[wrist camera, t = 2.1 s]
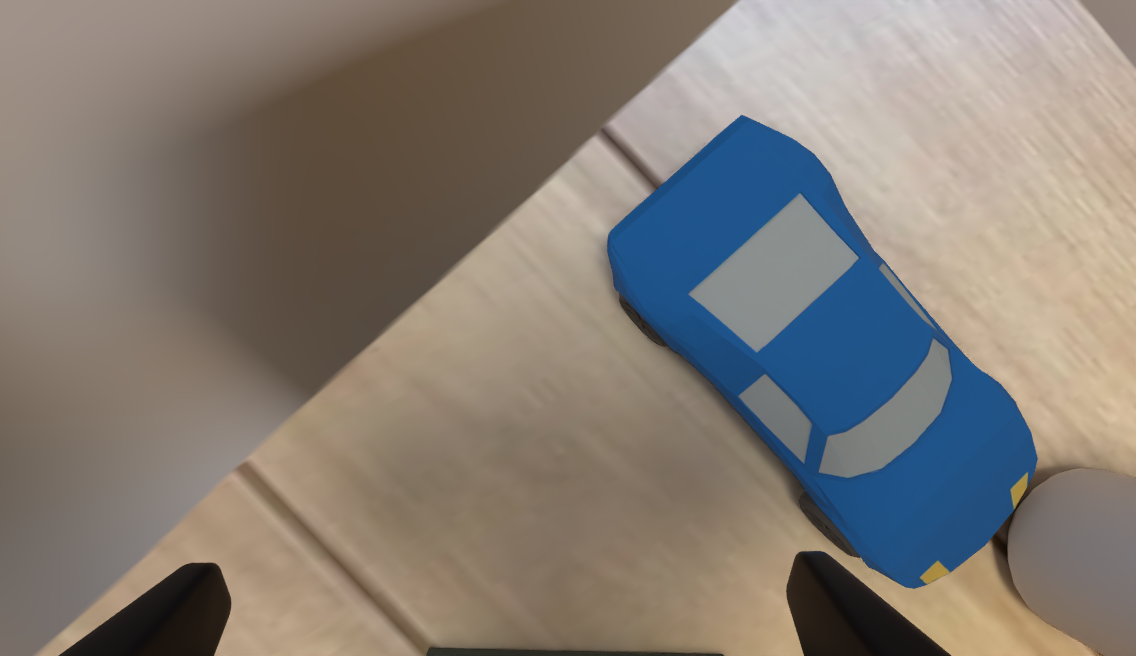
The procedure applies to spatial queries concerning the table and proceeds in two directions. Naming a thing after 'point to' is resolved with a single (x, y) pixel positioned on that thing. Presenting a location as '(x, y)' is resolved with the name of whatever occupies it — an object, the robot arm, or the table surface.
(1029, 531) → the can
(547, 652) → the tray
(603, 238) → the table surface
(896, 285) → the toy car
